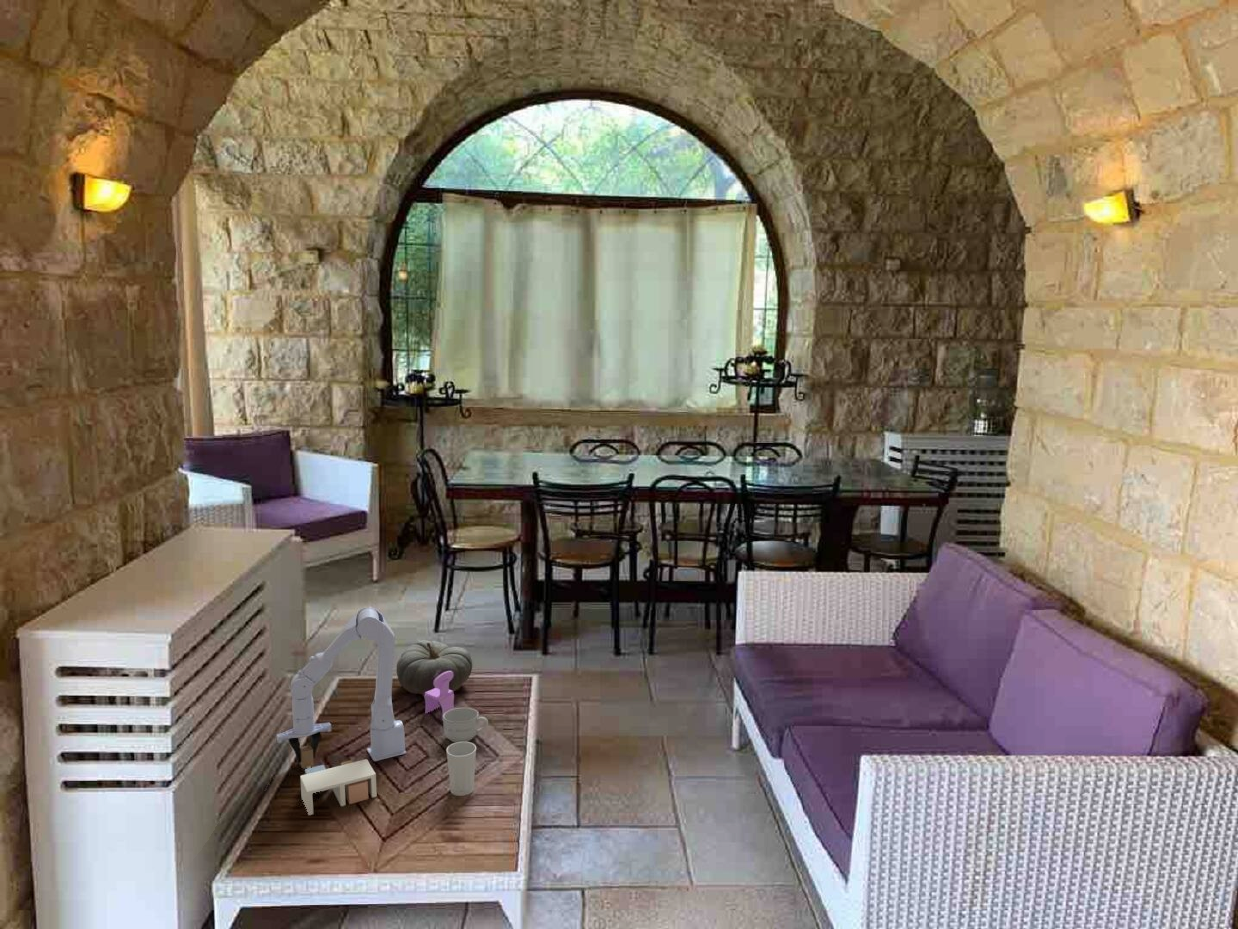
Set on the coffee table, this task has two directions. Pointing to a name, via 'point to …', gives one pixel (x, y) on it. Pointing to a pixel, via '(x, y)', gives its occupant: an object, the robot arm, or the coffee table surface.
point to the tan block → (356, 789)
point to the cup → (461, 767)
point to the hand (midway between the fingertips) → (305, 759)
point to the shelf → (337, 781)
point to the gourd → (432, 666)
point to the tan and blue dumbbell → (309, 760)
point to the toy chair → (440, 694)
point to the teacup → (462, 724)
